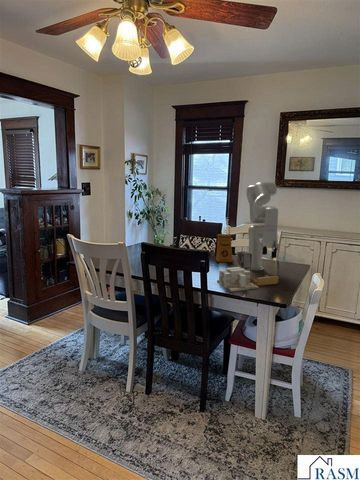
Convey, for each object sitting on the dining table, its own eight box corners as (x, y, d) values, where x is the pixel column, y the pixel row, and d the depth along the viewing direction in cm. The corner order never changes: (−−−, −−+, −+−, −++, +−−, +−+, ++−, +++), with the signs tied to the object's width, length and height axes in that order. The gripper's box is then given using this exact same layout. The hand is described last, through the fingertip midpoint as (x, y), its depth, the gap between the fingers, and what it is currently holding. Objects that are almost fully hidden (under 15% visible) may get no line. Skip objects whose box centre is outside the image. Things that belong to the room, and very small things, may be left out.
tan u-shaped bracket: (247, 279, 213) (247, 273, 212) (266, 277, 218) (266, 271, 217) (258, 285, 201) (258, 278, 201) (277, 283, 206) (278, 276, 205)
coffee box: (251, 277, 217) (252, 254, 214) (243, 278, 215) (244, 254, 212) (243, 274, 225) (244, 251, 223) (235, 275, 223) (236, 251, 220)
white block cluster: (216, 281, 208) (217, 267, 206) (242, 279, 214) (242, 265, 212) (231, 291, 190) (231, 275, 188) (258, 288, 196) (259, 273, 194)
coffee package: (232, 263, 254) (233, 235, 250) (215, 262, 255) (216, 234, 251) (231, 260, 263) (232, 233, 259) (216, 259, 265) (216, 232, 261)
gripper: (257, 226, 205) (256, 253, 208) (274, 230, 189) (272, 259, 192) (267, 226, 207) (266, 252, 210) (284, 230, 191) (283, 258, 194)
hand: (269, 256), depth 201 cm, fingers open, 9 cm apart
